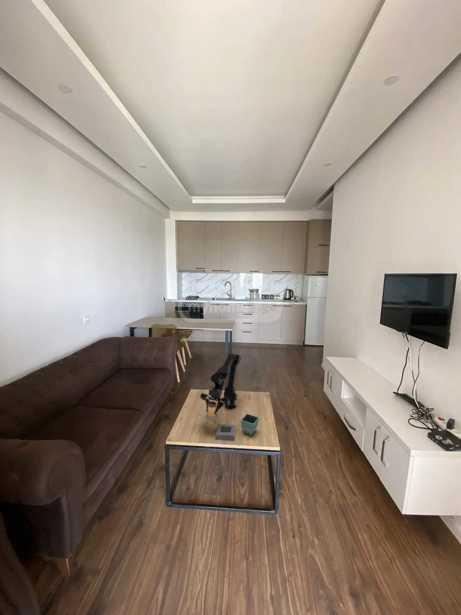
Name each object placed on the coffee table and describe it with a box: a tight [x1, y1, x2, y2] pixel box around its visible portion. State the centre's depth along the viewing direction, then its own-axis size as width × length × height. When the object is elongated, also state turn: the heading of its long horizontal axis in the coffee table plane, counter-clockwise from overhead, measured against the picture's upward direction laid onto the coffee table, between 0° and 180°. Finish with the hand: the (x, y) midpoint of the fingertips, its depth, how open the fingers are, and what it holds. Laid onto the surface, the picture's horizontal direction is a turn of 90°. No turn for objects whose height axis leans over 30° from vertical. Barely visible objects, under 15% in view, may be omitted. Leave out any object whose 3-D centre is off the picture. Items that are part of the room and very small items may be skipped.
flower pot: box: [240, 413, 260, 436], centre depth 157 cm, size 9×9×9 cm
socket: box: [215, 423, 236, 441], centre depth 155 cm, size 11×11×3 cm
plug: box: [205, 401, 219, 425], centre depth 155 cm, size 7×7×12 cm
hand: (210, 413), depth 154 cm, fingers closed on plug, 5 cm apart
